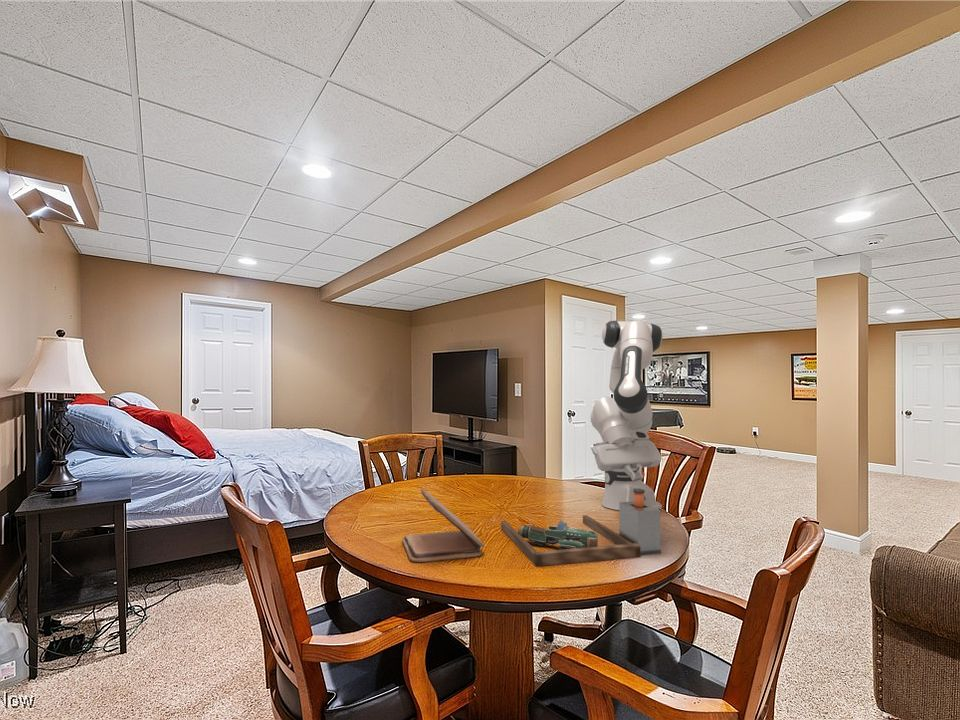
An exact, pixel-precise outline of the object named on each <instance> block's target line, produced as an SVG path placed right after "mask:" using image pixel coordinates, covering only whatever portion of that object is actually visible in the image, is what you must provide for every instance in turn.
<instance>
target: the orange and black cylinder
mask: <svg viewBox="0 0 960 720" xmlns="http://www.w3.org/2000/svg"><path fill="white" fill-rule="evenodd" d="M633 492H634V507H635V508H644V493H645V490H644V489H633Z"/></svg>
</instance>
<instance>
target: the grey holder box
mask: <svg viewBox="0 0 960 720" xmlns="http://www.w3.org/2000/svg"><path fill="white" fill-rule="evenodd" d="M618 511H619V514H618V515H619V516H618V517H619V524H618V525H619V535H620V536H622V537H624V538H625V539H627V540H629V541H630V542H632V543H637V544H638V545H640V554H641V556H643V555H650V554H651V555H652V554H661V553H662V549H661V509H657V508H655V507H652V506H650V505H648V504H646V503H644V508H635V507H634V502H619V510H618Z"/></svg>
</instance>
